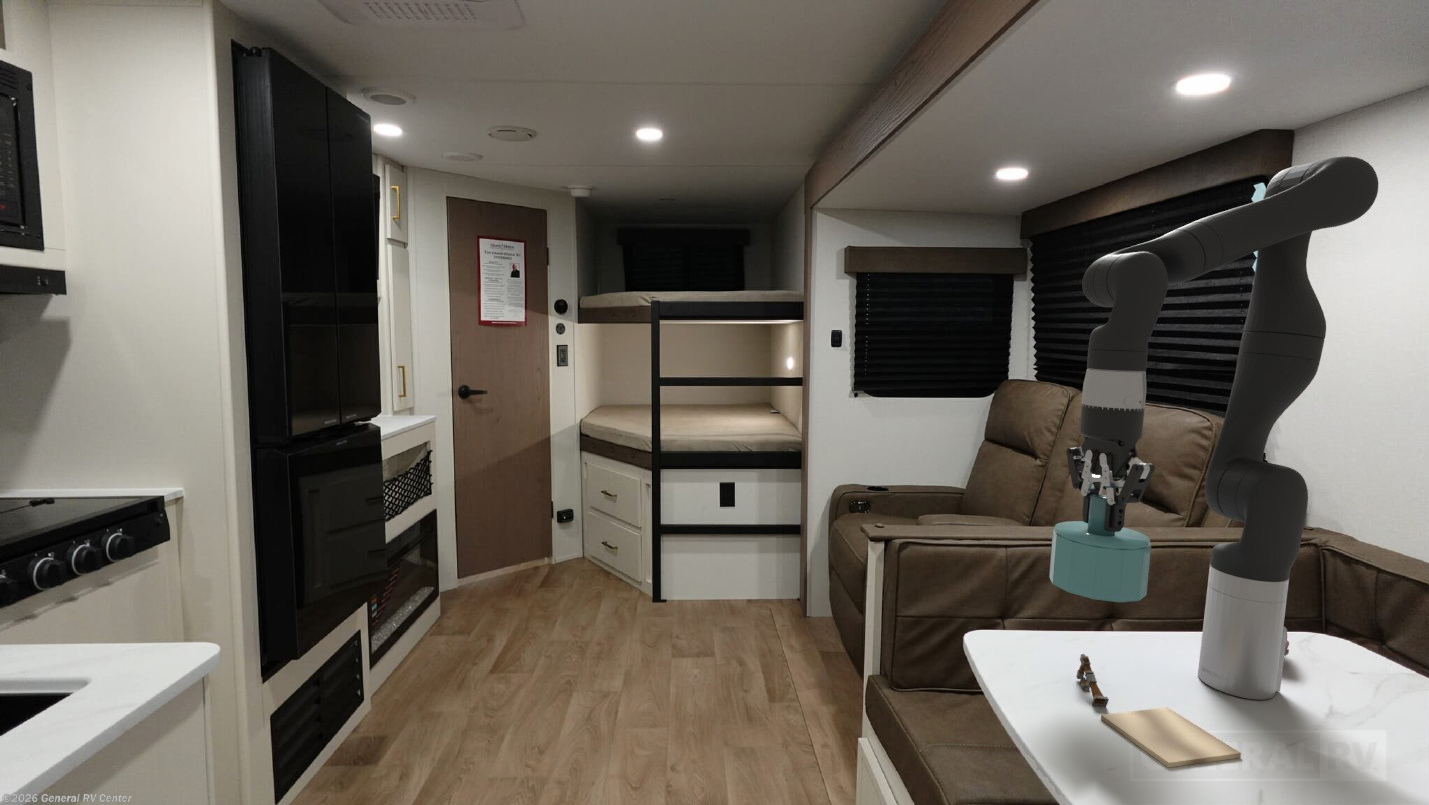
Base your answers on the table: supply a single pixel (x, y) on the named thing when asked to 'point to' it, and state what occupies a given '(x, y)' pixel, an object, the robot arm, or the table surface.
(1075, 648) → the table surface
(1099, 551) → the teal lid with knob
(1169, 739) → the board
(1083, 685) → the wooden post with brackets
